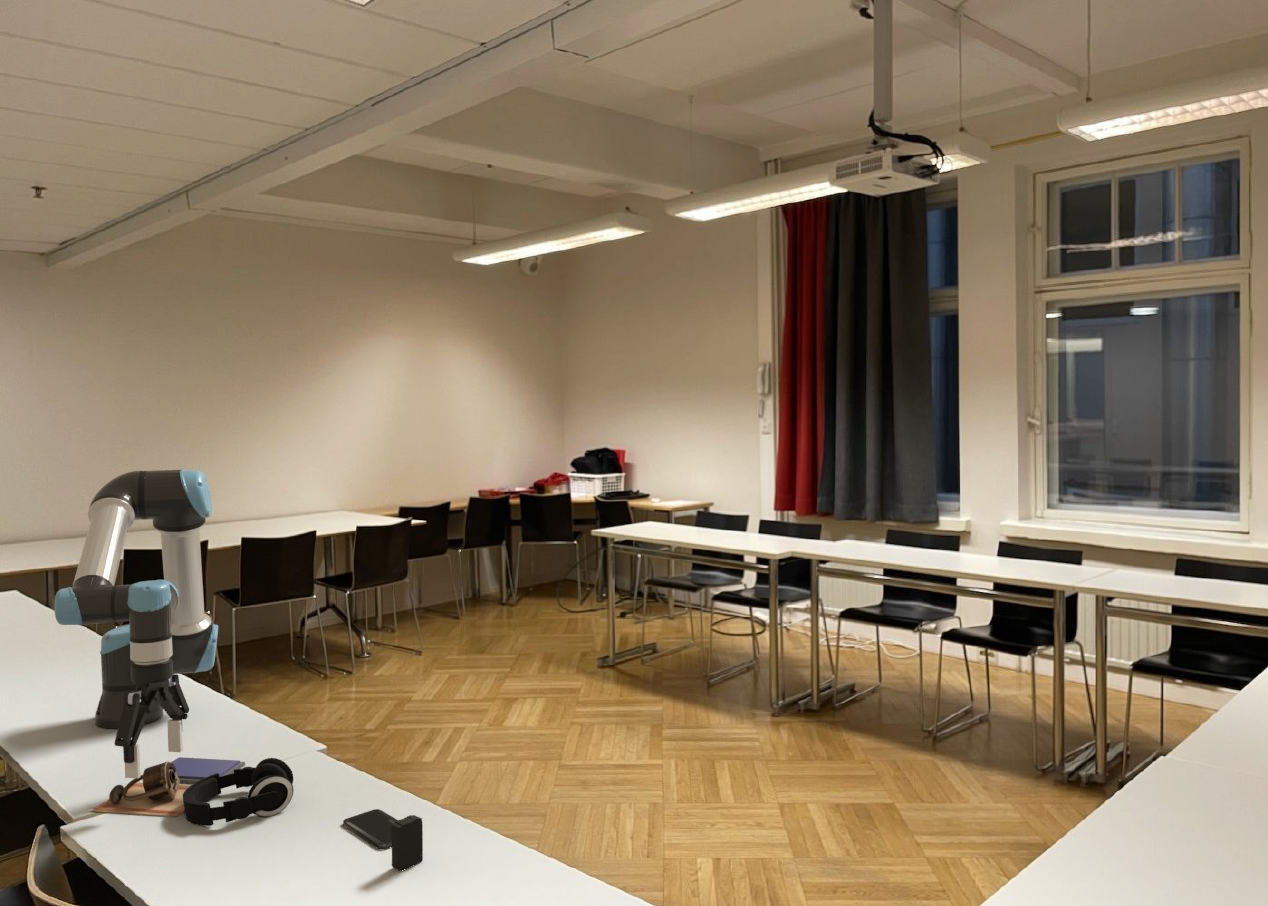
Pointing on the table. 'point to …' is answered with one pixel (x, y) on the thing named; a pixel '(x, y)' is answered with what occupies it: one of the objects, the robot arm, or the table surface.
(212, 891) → the table surface
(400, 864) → the ink cartridge
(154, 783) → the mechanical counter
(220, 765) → the ink pad
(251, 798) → the headphones
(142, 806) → the print sheet
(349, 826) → the phone
